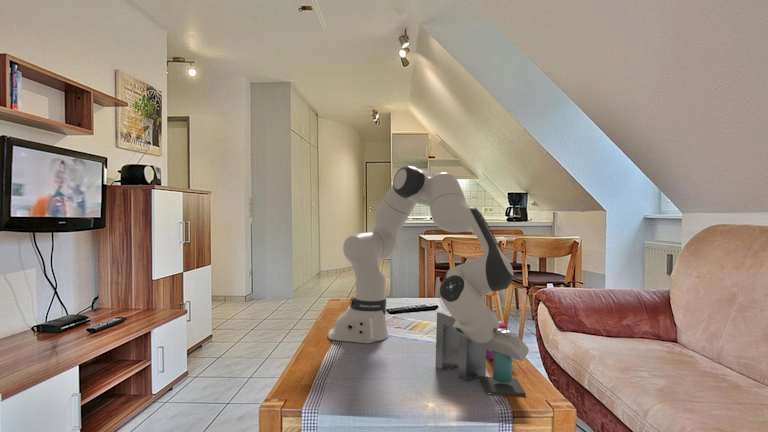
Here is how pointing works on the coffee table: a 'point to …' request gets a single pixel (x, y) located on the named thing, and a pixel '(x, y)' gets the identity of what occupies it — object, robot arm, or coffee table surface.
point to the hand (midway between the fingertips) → (504, 355)
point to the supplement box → (488, 353)
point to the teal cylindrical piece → (502, 368)
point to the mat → (503, 387)
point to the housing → (458, 350)
